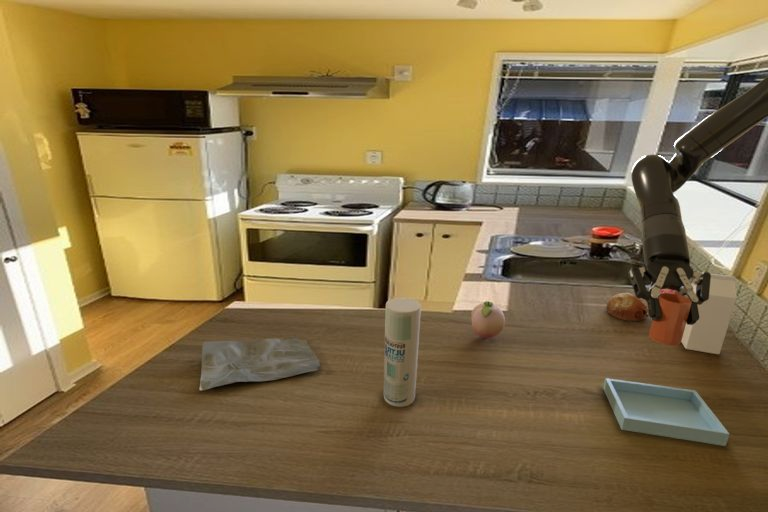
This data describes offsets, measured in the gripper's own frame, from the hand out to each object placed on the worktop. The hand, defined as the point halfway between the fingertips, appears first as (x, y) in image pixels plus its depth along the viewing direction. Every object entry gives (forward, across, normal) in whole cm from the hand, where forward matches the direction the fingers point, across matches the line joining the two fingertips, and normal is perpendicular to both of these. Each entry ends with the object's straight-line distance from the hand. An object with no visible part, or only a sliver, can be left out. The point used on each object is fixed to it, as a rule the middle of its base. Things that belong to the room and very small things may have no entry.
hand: (674, 321), depth 78 cm
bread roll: (-18, +8, +44) cm, 48 cm away
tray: (+15, 0, +10) cm, 18 cm away
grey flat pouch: (+18, -81, +8) cm, 83 cm away
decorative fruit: (0, -32, +26) cm, 41 cm away
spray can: (+21, -49, +5) cm, 53 cm away
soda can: (-14, +16, +40) cm, 46 cm away
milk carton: (-7, +20, +33) cm, 39 cm away
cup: (+2, 0, +5) cm, 5 cm away
